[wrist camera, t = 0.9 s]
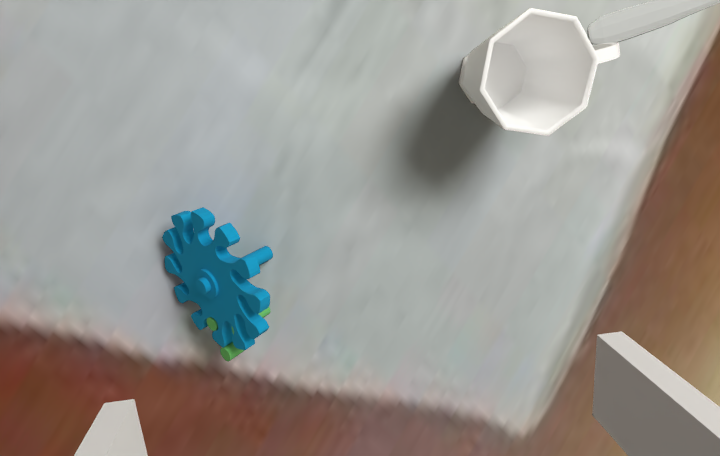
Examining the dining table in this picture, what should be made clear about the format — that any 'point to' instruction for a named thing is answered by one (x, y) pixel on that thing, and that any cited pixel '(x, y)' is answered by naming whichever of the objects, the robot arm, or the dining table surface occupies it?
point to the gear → (218, 280)
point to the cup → (534, 72)
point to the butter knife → (642, 19)
